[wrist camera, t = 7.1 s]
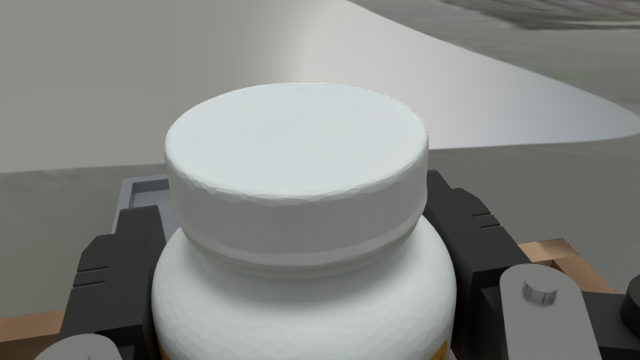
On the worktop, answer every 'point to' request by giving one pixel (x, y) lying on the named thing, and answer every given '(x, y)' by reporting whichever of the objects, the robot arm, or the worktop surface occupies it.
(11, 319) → the wooden frame
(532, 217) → the worktop surface
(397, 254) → the supplement bottle
